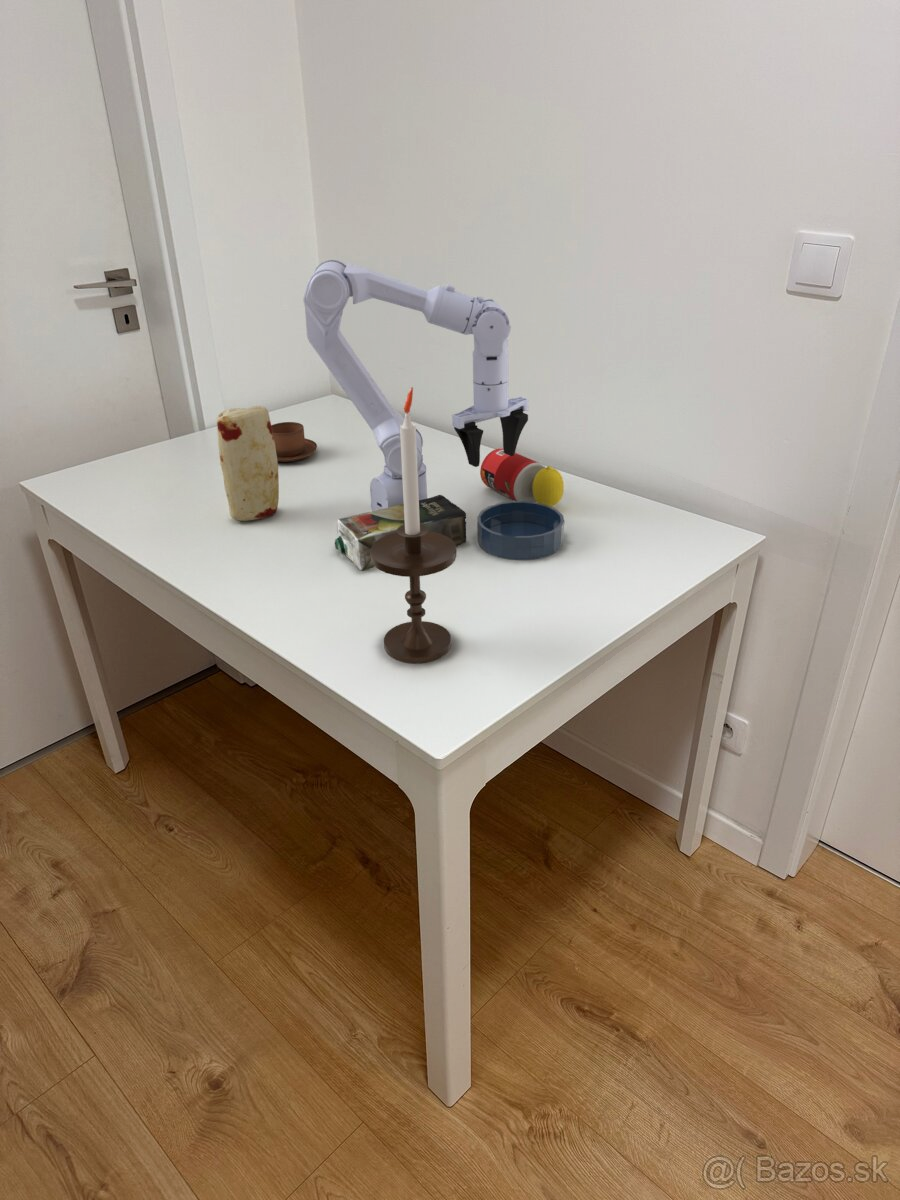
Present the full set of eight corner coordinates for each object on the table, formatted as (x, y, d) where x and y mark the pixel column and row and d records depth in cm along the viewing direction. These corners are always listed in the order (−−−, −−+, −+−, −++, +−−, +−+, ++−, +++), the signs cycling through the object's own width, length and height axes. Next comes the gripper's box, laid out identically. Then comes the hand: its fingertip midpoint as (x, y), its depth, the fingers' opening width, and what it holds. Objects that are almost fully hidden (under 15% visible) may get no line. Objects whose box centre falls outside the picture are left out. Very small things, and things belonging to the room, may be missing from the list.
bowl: (513, 568, 132) (514, 545, 130) (460, 536, 142) (460, 515, 140) (580, 543, 139) (582, 521, 137) (525, 515, 149) (526, 494, 147)
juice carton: (355, 574, 131) (352, 538, 128) (332, 549, 139) (329, 515, 136) (468, 545, 139) (468, 511, 136) (440, 524, 147) (439, 491, 144)
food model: (236, 529, 146) (218, 417, 136) (224, 516, 151) (205, 406, 141) (289, 516, 150) (275, 406, 140) (275, 503, 155) (261, 396, 145)
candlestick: (451, 619, 119) (446, 371, 101) (464, 662, 110) (460, 398, 92) (374, 627, 118) (355, 377, 100) (380, 671, 108) (361, 404, 91)
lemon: (563, 502, 153) (565, 461, 149) (561, 515, 148) (564, 473, 144) (532, 501, 154) (534, 460, 150) (530, 514, 149) (532, 471, 145)
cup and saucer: (253, 451, 179) (249, 423, 176) (308, 442, 183) (305, 415, 180) (268, 470, 170) (263, 441, 166) (325, 460, 174) (322, 431, 171)
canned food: (471, 472, 156) (508, 491, 148) (497, 438, 156) (535, 455, 148) (493, 495, 161) (530, 513, 153) (518, 461, 161) (556, 478, 153)
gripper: (469, 394, 131) (471, 476, 137) (540, 376, 138) (539, 455, 144) (443, 385, 136) (446, 464, 142) (513, 368, 143) (513, 445, 150)
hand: (491, 459), depth 144 cm, fingers open, 7 cm apart
